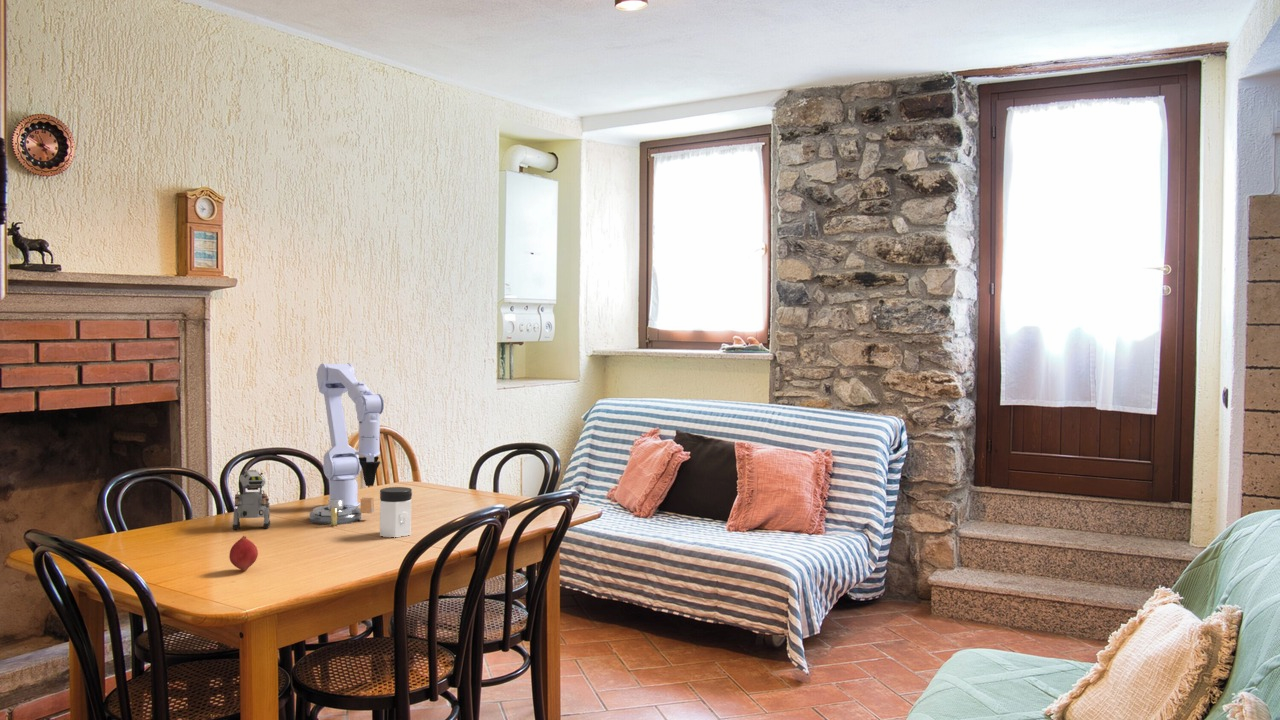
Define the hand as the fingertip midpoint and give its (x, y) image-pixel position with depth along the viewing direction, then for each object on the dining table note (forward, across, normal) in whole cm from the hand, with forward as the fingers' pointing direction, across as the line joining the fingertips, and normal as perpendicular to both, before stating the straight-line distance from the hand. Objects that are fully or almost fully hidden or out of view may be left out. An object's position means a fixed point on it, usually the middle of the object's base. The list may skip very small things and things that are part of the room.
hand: (368, 483), depth 262 cm
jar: (+10, +24, +6) cm, 26 cm away
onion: (+10, +52, -29) cm, 61 cm away
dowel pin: (+10, +9, -10) cm, 16 cm away
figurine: (+10, +4, -31) cm, 33 cm away
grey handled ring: (+8, +1, -7) cm, 10 cm away
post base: (+10, 0, -9) cm, 13 cm away
